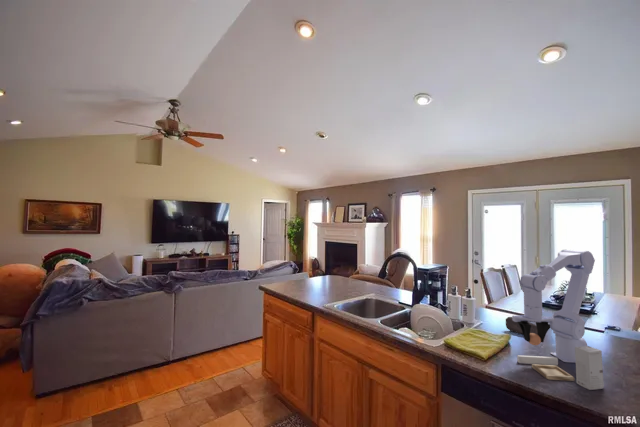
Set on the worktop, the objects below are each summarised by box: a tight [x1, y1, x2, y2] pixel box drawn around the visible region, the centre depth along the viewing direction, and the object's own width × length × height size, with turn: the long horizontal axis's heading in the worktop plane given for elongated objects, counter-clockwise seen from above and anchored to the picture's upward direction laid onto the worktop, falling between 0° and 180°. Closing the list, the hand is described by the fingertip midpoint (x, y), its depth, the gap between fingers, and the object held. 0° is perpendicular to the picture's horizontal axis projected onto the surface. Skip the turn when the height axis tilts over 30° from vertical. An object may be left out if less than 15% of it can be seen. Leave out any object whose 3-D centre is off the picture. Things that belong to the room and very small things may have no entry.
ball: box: [528, 333, 542, 346], centre depth 111 cm, size 4×4×4 cm
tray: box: [531, 364, 576, 382], centre depth 103 cm, size 9×9×1 cm
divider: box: [516, 354, 559, 366], centre depth 111 cm, size 14×1×2 cm, turn 84°
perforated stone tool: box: [505, 316, 538, 335], centre depth 142 cm, size 15×5×7 cm, turn 36°
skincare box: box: [575, 345, 604, 391], centre depth 95 cm, size 6×4×12 cm
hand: (533, 341), depth 111 cm, fingers closed on ball, 4 cm apart
